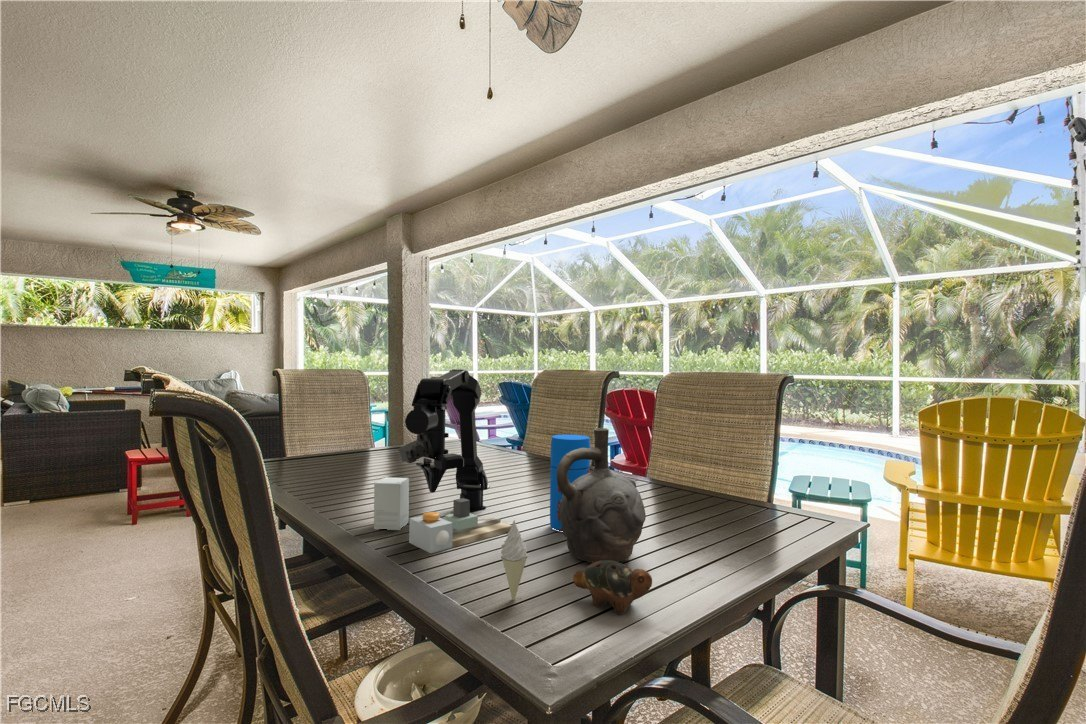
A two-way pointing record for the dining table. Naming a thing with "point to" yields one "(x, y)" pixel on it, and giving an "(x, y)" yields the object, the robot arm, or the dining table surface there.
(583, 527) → the vessel
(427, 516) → the button
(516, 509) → the dining table surface
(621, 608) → the decorative turtle
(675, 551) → the dining table surface
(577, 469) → the thermos
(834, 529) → the dining table surface
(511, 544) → the ice cream cone
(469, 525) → the carriage
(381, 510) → the supplement box
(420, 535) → the gauge cabinet
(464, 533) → the rail board
